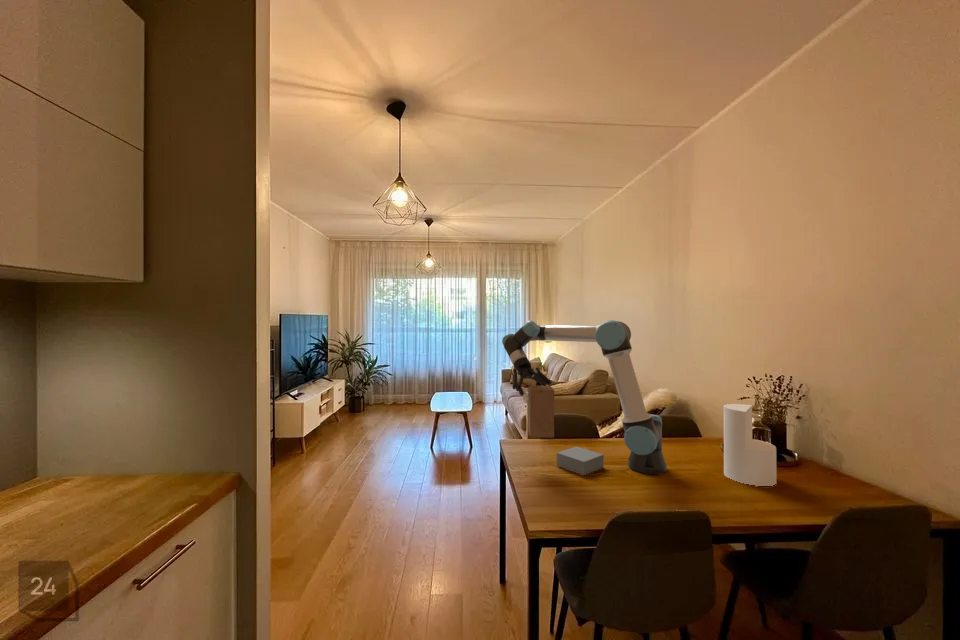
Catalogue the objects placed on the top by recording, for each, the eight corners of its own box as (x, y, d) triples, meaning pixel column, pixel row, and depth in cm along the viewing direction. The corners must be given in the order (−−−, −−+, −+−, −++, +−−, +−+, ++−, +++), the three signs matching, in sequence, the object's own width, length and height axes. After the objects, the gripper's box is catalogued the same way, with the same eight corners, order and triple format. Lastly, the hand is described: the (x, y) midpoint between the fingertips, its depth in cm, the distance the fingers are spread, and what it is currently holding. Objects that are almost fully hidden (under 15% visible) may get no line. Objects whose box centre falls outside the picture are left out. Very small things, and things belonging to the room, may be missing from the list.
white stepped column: (719, 478, 151) (719, 408, 152) (728, 466, 164) (727, 402, 164) (774, 491, 139) (773, 415, 140) (778, 477, 152) (778, 408, 153)
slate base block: (603, 468, 162) (603, 454, 162) (584, 476, 153) (584, 461, 153) (576, 459, 172) (576, 446, 172) (556, 466, 163) (556, 452, 164)
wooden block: (554, 437, 156) (554, 389, 156) (530, 437, 156) (530, 389, 156) (550, 430, 166) (550, 385, 166) (527, 430, 166) (527, 385, 166)
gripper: (538, 365, 183) (558, 402, 170) (494, 368, 172) (512, 407, 158) (545, 355, 179) (566, 392, 165) (500, 357, 167) (519, 396, 154)
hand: (540, 399), depth 162 cm, fingers closed on wooden block, 12 cm apart
